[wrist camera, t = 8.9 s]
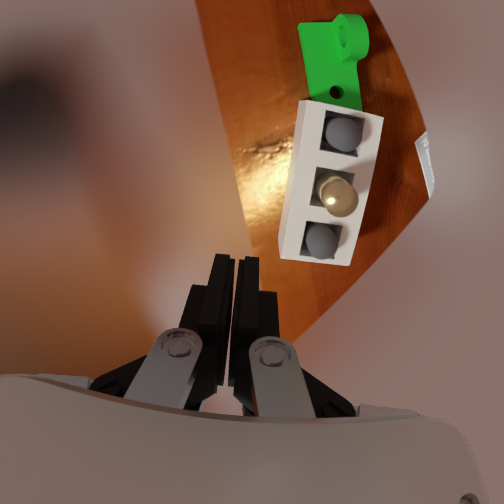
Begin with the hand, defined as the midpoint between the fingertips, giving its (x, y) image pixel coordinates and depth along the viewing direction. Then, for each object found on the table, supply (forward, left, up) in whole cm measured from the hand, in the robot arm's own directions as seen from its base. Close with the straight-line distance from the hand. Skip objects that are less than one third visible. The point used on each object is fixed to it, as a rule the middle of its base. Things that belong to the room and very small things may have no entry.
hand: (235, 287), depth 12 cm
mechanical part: (-14, +8, -29) cm, 33 cm away
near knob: (-6, +9, -27) cm, 30 cm away
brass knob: (+1, +9, -25) cm, 26 cm away
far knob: (+7, +9, -27) cm, 30 cm away
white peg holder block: (+1, +9, -29) cm, 31 cm away
